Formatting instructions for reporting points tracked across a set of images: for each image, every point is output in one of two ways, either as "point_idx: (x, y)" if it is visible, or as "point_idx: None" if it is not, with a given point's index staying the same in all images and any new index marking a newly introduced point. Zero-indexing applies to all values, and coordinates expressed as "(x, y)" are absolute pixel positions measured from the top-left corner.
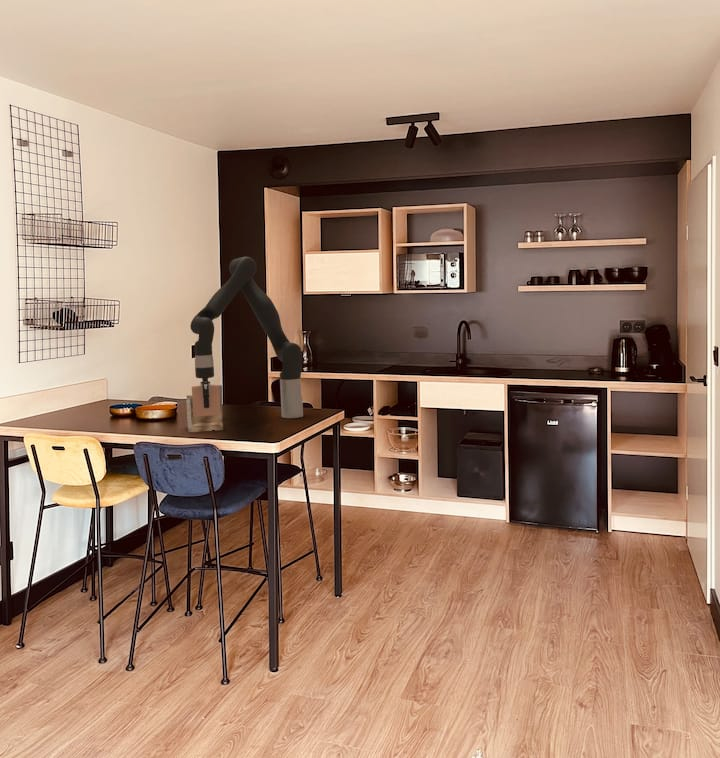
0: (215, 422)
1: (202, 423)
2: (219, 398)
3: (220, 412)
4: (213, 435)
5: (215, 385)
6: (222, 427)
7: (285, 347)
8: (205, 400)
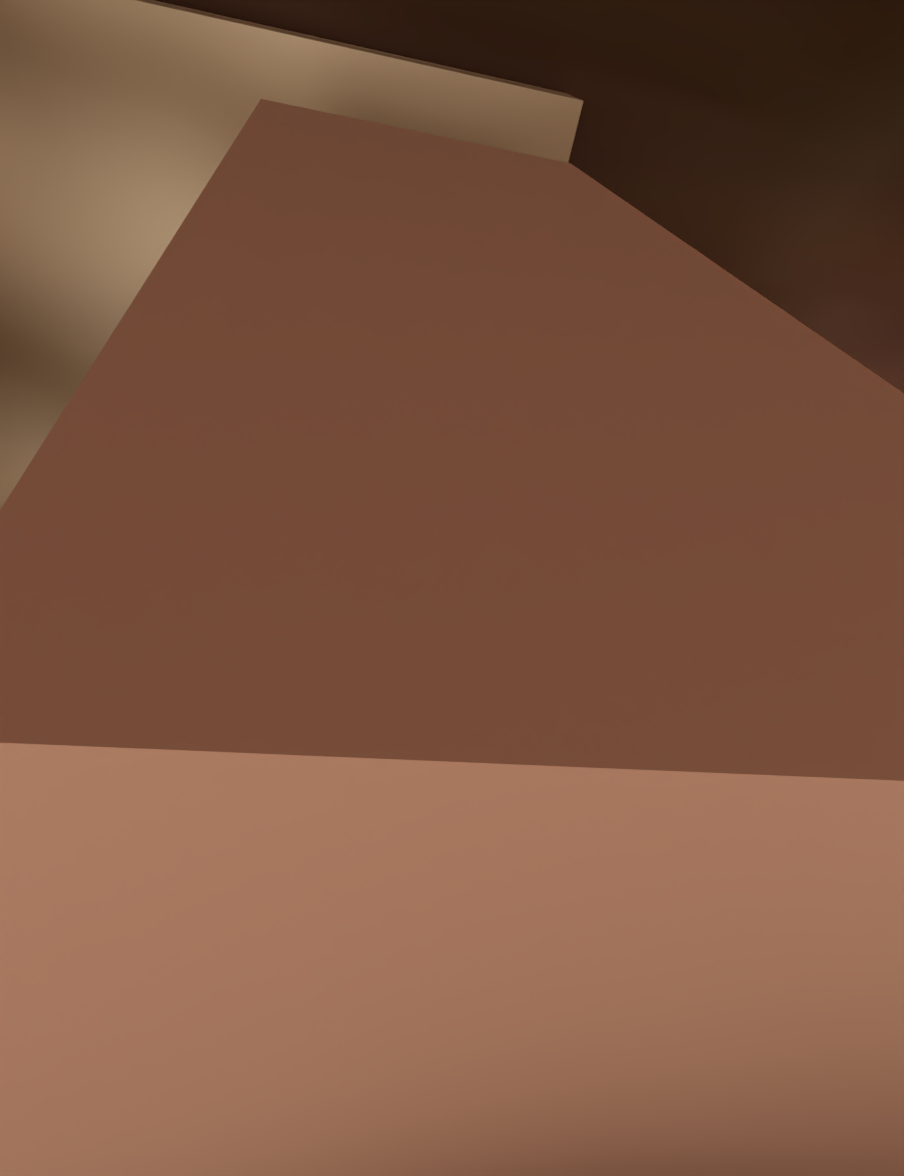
0: (15, 152)
1: (51, 422)
2: (770, 317)
3: (586, 175)
4: (891, 352)
5: (598, 1059)
6: (575, 108)
7: None
8: None
